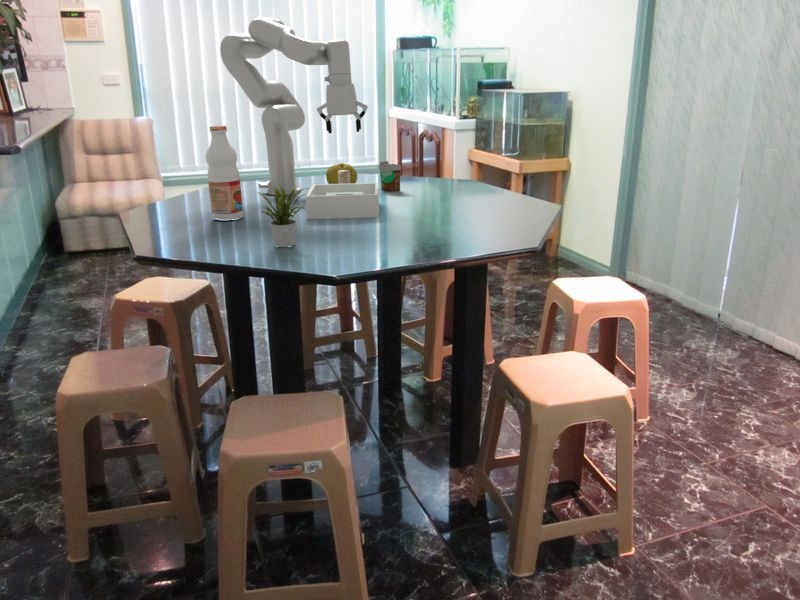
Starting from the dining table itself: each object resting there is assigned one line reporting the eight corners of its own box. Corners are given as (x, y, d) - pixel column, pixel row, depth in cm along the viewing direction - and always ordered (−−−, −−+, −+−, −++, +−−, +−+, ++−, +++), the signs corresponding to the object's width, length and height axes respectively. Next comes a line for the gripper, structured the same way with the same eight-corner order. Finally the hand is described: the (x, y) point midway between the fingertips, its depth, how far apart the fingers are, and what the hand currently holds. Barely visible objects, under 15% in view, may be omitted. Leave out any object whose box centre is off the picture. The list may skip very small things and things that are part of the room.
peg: (339, 200, 227) (337, 171, 223) (339, 198, 230) (338, 170, 227) (350, 200, 227) (349, 171, 223) (351, 198, 230) (349, 169, 227)
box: (307, 219, 199) (305, 196, 197) (314, 205, 220) (312, 184, 217) (378, 217, 199) (378, 194, 197) (379, 203, 220) (378, 182, 218)
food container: (373, 188, 249) (372, 161, 246) (388, 186, 251) (387, 160, 248) (386, 193, 238) (385, 165, 235) (401, 191, 241) (401, 164, 237)
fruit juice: (211, 217, 205) (200, 125, 196) (241, 214, 208) (232, 124, 199) (214, 223, 197) (202, 128, 187) (245, 220, 200) (236, 126, 190)
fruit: (329, 188, 252) (327, 161, 249) (359, 187, 251) (358, 161, 248) (325, 193, 241) (323, 166, 238) (356, 192, 241) (355, 165, 238)
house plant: (328, 244, 169) (324, 181, 164) (286, 256, 160) (280, 189, 154) (293, 236, 178) (288, 177, 173) (251, 247, 169) (245, 184, 163)
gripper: (312, 81, 214) (317, 134, 220) (364, 78, 213) (368, 132, 219) (316, 81, 221) (320, 132, 227) (366, 78, 220) (370, 130, 226)
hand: (344, 132), depth 223 cm, fingers open, 9 cm apart
